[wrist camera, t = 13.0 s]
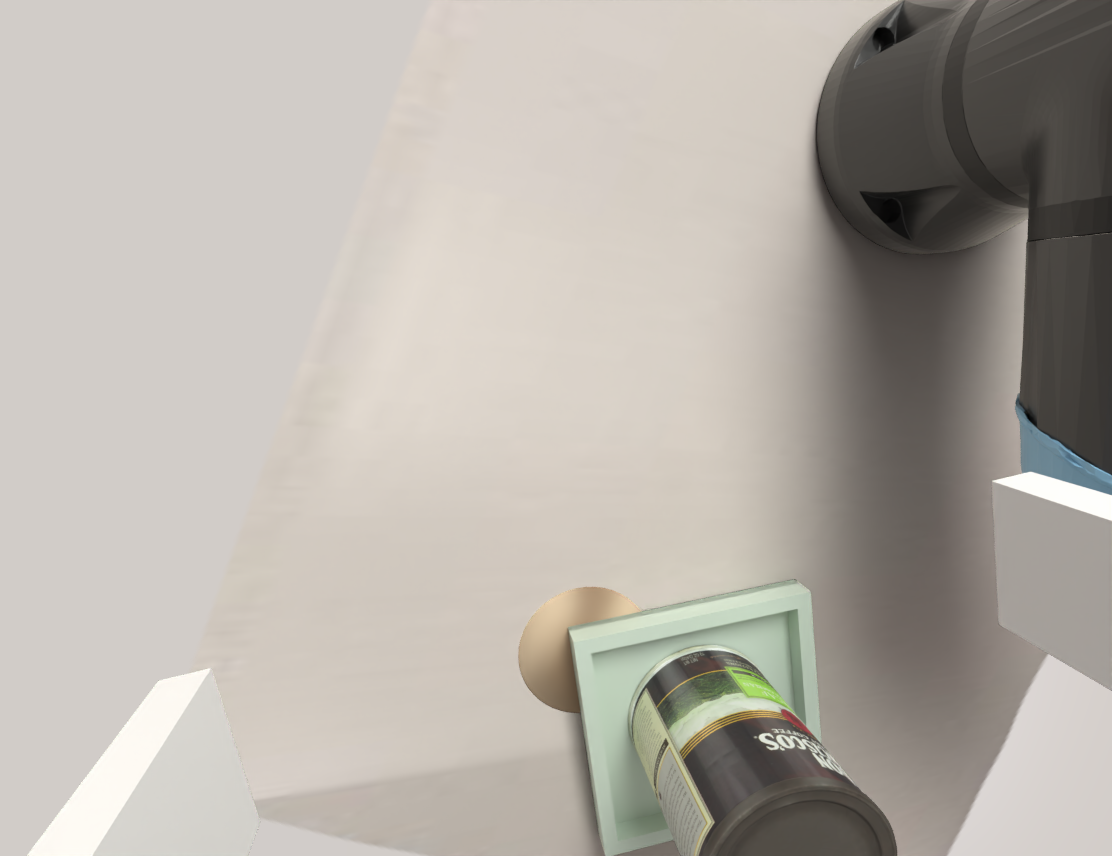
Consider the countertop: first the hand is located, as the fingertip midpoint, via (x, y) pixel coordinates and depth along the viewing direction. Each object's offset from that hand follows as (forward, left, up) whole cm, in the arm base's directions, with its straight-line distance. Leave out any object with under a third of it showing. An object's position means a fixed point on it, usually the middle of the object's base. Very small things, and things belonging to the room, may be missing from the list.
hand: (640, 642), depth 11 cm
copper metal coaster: (-3, +18, -32) cm, 37 cm away
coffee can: (-10, +24, -31) cm, 40 cm away
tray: (-10, +24, -31) cm, 41 cm away
